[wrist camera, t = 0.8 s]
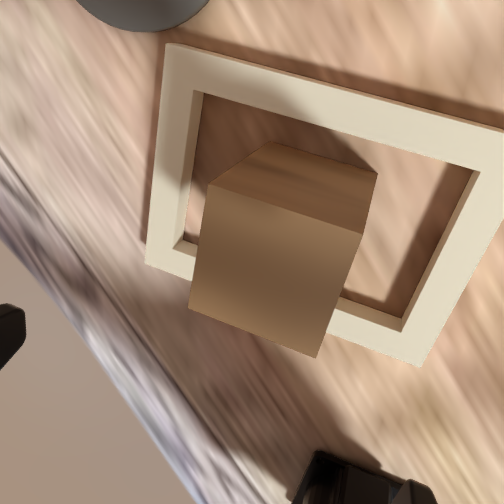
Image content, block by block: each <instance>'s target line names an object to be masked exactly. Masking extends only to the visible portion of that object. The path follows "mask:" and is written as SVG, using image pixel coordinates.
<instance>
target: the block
mask: <svg viewBox="0 0 504 504" xmlns="http://www.w3.org/2000/svg"><path fill="white" fill-rule="evenodd" d="M377 175H378V173H375V172H371V171H368V170H365V169H361V168H358V167H355V166H351V165H348V164H345V163H341V162H338V161H335V160H331V159H328V158H325V157H321V156H318V155H315V154H311V153H308V152H305V151H301V150H298V149H295V148H291V147H288V146H285V145H281V144H278V143H275V142H271V141H269V142H268V143H267V144H265V145H264V146H262V147H261V148H259V149H258V150H256V151H255V152H253V153H252V154H251V155H249V156H248V157H246V158H245V159H243V160H242V161H240V162H239V163H237V164H236V165H235V166H233V167H232V168H230V169H229V170H227V171H226V172H224V173H223V174H221V175H220V176H219V177H217V178H216V179H214V180H213V181H211V182H210V183H208V188H207V194H206V200H205V206H204V212H203V218H202V224H201V230H200V236H199V242H198V248H197V254H196V260H195V266H194V272H193V278H192V284H191V290H190V296H189V302H188V309H191V310H193V311H196V312H198V313H201V314H204V315H206V316H209V317H211V318H214V319H216V320H219V321H221V322H224V323H227V324H229V325H232V326H234V327H237V328H239V329H242V330H244V331H247V332H249V333H252V334H255V335H257V336H260V337H262V338H265V339H267V340H270V341H272V342H275V343H278V344H280V345H283V346H285V347H288V348H290V349H293V350H295V351H298V352H301V353H303V354H306V355H308V356H311V357H313V358H316V356H317V354H318V351H319V348H320V346H321V343H322V341H323V338H324V335H325V333H326V330H327V328H328V325H329V322H330V320H331V317H332V314H333V312H334V309H335V307H336V304H337V301H338V299H339V296H340V294H341V291H342V288H343V286H344V283H345V280H346V278H347V275H348V273H349V270H350V267H351V265H352V262H353V259H354V257H355V254H356V252H357V249H358V246H359V244H360V241H361V239H362V236H363V233H364V228H365V224H366V220H367V216H368V212H369V208H370V204H371V199H372V195H373V191H374V187H375V183H376V179H377Z"/></svg>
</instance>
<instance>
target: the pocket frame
mask: <svg viewBox="0 0 504 504" xmlns="http://www.w3.org/2000/svg"><path fill="white" fill-rule="evenodd" d="M204 93H207V94H211V95H214V96H218V97H221V98H225V99H228V100H232V101H235V102H239V103H242V104H246V105H249V106H253V107H256V108H260V109H263V110H267V111H270V112H274V113H277V114H281V115H284V116H288V117H291V118H295V119H298V120H302V121H305V122H309V123H312V124H316V125H319V126H322V127H326V128H329V129H333V130H336V131H340V132H343V133H347V134H350V135H354V136H357V137H361V138H364V139H368V140H371V141H375V142H378V143H382V144H385V145H389V146H392V147H396V148H399V149H403V150H406V151H410V152H413V153H417V154H420V155H424V156H427V157H431V158H434V159H438V160H441V161H445V162H448V163H452V164H455V165H459V166H462V167H466V168H469V169H473V170H474V171H473V173H472V175H471V177H470V179H469V181H468V183H467V185H466V187H465V189H464V191H463V193H462V195H461V197H460V199H459V201H458V204H457V206H456V208H455V210H454V212H453V214H452V216H451V218H450V220H449V222H448V224H447V226H446V228H445V230H444V232H443V234H442V236H441V238H440V241H439V243H438V245H437V247H436V249H435V251H434V253H433V255H432V257H431V259H430V261H429V263H428V265H427V267H426V269H425V271H424V273H423V275H422V278H421V280H420V282H419V284H418V286H417V288H416V290H415V292H414V294H413V296H412V298H411V300H410V302H409V304H408V306H407V308H406V310H405V312H404V315H403V317H402V319H401V318H398V317H395V316H392V315H390V314H387V313H384V312H381V311H378V310H376V309H373V308H370V307H367V306H365V305H362V304H359V303H356V302H353V301H351V300H348V299H345V298H342V297H340V296H339V299H338V301H337V304H336V307H335V309H334V312H333V314H332V317H331V320H330V322H329V325H328V328H327V330H326V332H327V333H329V334H332V335H335V336H337V337H340V338H343V339H345V340H348V341H350V342H353V343H356V344H358V345H361V346H364V347H366V348H369V349H372V350H374V351H377V352H380V353H382V354H385V355H387V356H390V357H393V358H395V359H398V360H401V361H403V362H406V363H409V364H411V365H414V366H417V367H419V368H421V366H422V364H423V362H424V360H425V359H426V357H427V355H428V353H429V351H430V350H431V348H432V346H433V344H434V342H435V341H436V339H437V337H438V335H439V333H440V332H441V330H442V328H443V326H444V324H445V323H446V321H447V319H448V317H449V315H450V314H451V312H452V310H453V308H454V306H455V305H456V303H457V301H458V299H459V297H460V296H461V294H462V292H463V290H464V288H465V287H466V285H467V283H468V281H469V279H470V278H471V276H472V274H473V272H474V270H475V269H476V267H477V265H478V263H479V261H480V260H481V258H482V256H483V254H484V252H485V251H486V249H487V247H488V245H489V243H490V242H491V240H492V238H493V236H494V234H495V233H496V231H497V229H498V227H499V225H500V224H501V222H502V220H503V218H504V129H500V128H496V127H492V126H489V125H485V124H481V123H477V122H474V121H470V120H466V119H462V118H458V117H455V116H451V115H447V114H443V113H440V112H436V111H432V110H428V109H425V108H421V107H417V106H413V105H410V104H406V103H402V102H398V101H395V100H391V99H387V98H383V97H380V96H376V95H372V94H368V93H365V92H361V91H357V90H353V89H349V88H346V87H342V86H338V85H334V84H331V83H327V82H323V81H319V80H316V79H312V78H308V77H304V76H301V75H297V74H293V73H289V72H286V71H282V70H278V69H274V68H271V67H267V66H263V65H259V64H256V63H252V62H248V61H244V60H240V59H237V58H233V57H229V56H225V55H222V54H218V53H214V52H210V51H207V50H203V49H199V48H195V47H192V46H188V45H184V44H180V43H166V46H165V57H164V67H163V77H162V87H161V98H160V108H159V118H158V129H157V139H156V149H155V159H154V170H153V180H152V190H151V200H150V211H149V221H148V231H147V242H146V252H145V262H144V264H147V265H150V266H152V267H155V268H158V269H160V270H163V271H165V272H168V273H171V274H173V275H176V276H179V277H181V278H184V279H187V280H189V281H192V278H193V272H194V266H195V260H196V254H197V248H198V245H195V244H192V243H190V242H187V241H184V240H183V234H184V227H185V220H186V213H187V206H188V200H189V193H190V186H191V179H192V172H193V165H194V158H195V151H196V144H197V138H198V131H199V124H200V117H201V110H202V103H203V96H204Z"/></svg>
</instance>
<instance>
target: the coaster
mask: <svg viewBox="0 0 504 504" xmlns="http://www.w3.org/2000/svg"><path fill="white" fill-rule="evenodd" d="M77 2H78V3H79V4H80V5H81V6H83V7H84V8H85V9H86V10H87V11H88V12H89V13H91V14H92V15H93V16H95V17H96V18H98V19H99V20H101V21H103V22H105V23H107V24H109V25H110V26H113V27H116V28H119V29H122V30H127V31H133V32H158V31H164V30H167V29H170V28H173V27H176V26H178V25H180V24H182V23H184V22H186V21H187V20H189V19H190V18H191V17H193V16H194V15H195V14H197V13H198V12H199V11H200V10H201V9H202V8H203V7H204V6H205V5H206V4H207V3H208V2H209V0H77Z"/></svg>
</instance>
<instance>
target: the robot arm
mask: <svg viewBox="0 0 504 504" xmlns="http://www.w3.org/2000/svg"><path fill="white" fill-rule="evenodd" d="M25 339H26V322H25V312H24V311H23V309H21V308H18V307H16V306H14V305H12V304H8V303H6V304H1V305H0V370H1V369H2V368H3V367H4V365H5V364H6V363H7V362H8V361H9V359H11V358H12V357H13V355H14V354H15V353H16V352H17V351H18V350H19V348H20V347H21V346H22V345H23V343H24V341H25ZM291 504H438V503H437V501H436V499H435V496H434V494H433V492H432V490H431V489H430V488H429V487H428V486H426V485H424V484H422V483H419V482H417V481H415V480H413V479H408V480H407V481H406V482H405V483H404V484H403V486H402V485H400V484H398V483H395V482H393V481H391V480H388V479H386V478H384V477H381V476H379V475H377V474H374V473H372V472H370V471H368V470H365V469H363V468H361V467H358V466H356V465H354V464H351V463H349V462H347V461H344V460H342V459H340V458H337V457H335V456H333V455H331V454H328V453H326V452H324V451H315V452H314V453H313V455H312V458H311V460H310V462H309V464H308V467H307V469H306V471H305V473H304V476H303V478H302V480H301V482H300V485H299V487H298V489H297V491H296V494H295V496H294V498H293V500H292V503H291Z"/></svg>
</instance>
